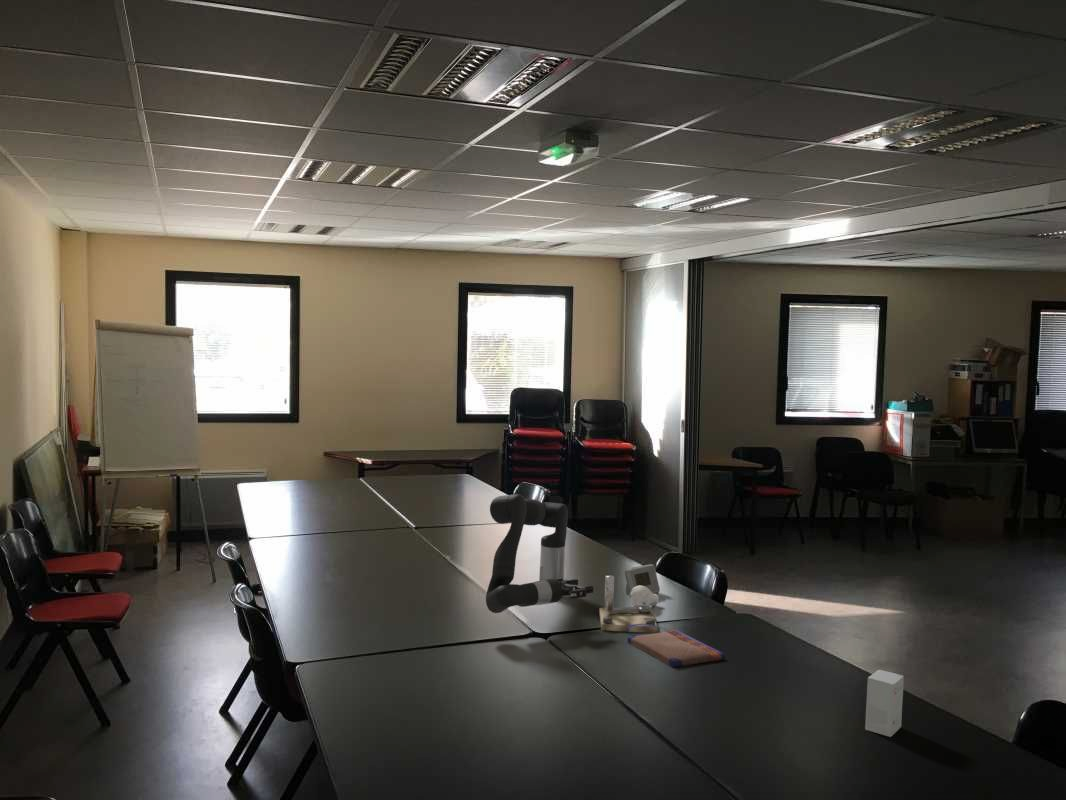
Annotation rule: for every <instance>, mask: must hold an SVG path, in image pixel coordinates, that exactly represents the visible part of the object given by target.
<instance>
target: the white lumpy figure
mask: <svg viewBox="0 0 1066 800" xmlns="http://www.w3.org/2000/svg"><path fill="white" fill-rule="evenodd" d="M630 595H631V598H630V600H631V604H632V607H637V606H639V605H643V604H645V606H650V605H651V606H650V607H656V606H657V605H658V603H659V601H660V598H659V596H658V595H657V593H656V594H653V593H652V592H651V591H650V590H649V589H648V588H647V587H645V586H642V585H638V586H636V587H634V588H633V589H632V592H631V593H630Z"/></svg>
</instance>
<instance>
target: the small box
mask: <svg viewBox="0 0 1066 800" xmlns="http://www.w3.org/2000/svg"><path fill="white" fill-rule="evenodd" d="M904 678H905V677H904V675H903V674H898V673H894V672H891V671H886V670H882V669H877V670H876V671H874V672H873V673H872V674H871V675H869V676H868V677H867V683H866V684H867V685H866V686H867V687H866V703H865V705H866V707H865V725H864V729H865V731H868V732H872V733H876V734H880V735H883V736H886V737H887V738H888V737H889V738H891V737H892V736H893V735H895V734H896V733H897V732H898V731H899V730H900V729H901V728H902V718H903V717H902V715H903V713H902V712H903V699H904V698H903V697H904V680H905V679H904Z"/></svg>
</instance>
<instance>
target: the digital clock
mask: <svg viewBox="0 0 1066 800" xmlns="http://www.w3.org/2000/svg"><path fill="white" fill-rule="evenodd" d="M624 577H625V580H626V586H625V595H626V594H627V595H626V596H629V595H630V593H631V592H632V589H633V588H634V587H636V586H638V585H642V586H645V587H647V588H648V589H649V590H650V591H651V592H652V593H653V594H656V595H657V594H659V593H660V591H661V589H660V585H659V580H658V576H657V571H656V567H655V565H654V564H651V563H650V564H645V565H640V566H639V565H638V566H634V567H631V568H627V569H626V570H624ZM629 598H630V599H631V595H630V596H629Z"/></svg>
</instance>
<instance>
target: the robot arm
mask: <svg viewBox="0 0 1066 800" xmlns="http://www.w3.org/2000/svg"><path fill="white" fill-rule="evenodd" d="M489 513H490V514H489V515H490V516H491V518H492V520H493V521H494V522H496V523H497V524H500V525H501V524H502V525H504V524H505V525H506V524H510V527H509V529H508V532H507V533H506V536H505V537H504V538H503V539H502V541H501V542H500V544H499V545H498V547H497V549H496V550H495V552H494V557H493V563H492V574H491V578H490V581H489V584H488V587H487V591H486V594H485V604H486V607H487V610H488V611H490V612H491V613H493V614H499V613H503V612H504V611H506V610H507V609H509V608H512V607H515V606H517V607H519V608H520V607H522V608H524V607H525V608H526V607H532V606H542V605H547V604H554V603H558V602H561V600H562V598H563V597H566V598H567V597H569V599H571V600H575V599H579V598H580V599H581V598H587V594H592V593H594V586H593V585H587V586H579V580H578V579H577V578H574V579H565V563H566V562H565V561H566V559H565V558H566V555H565V554H566V540H567V531H568V529H567V528H568V519H569V510H568V506H567V505H566V504H564V503H560V502H559V503H558V502H551V501H550V502H549V501H545V502H541V501H539V500H537V499H533V498H525V497H524V496H523V495H522V494H519V493H515V494H508V495H507V494H505V495H499V496H497V497H494V498H493V499H492V500H491V503H490V505H489ZM524 525H525V526H538V525H539V526H542V527H546V528H555V530H554V532H553V533H551V534H547V535H543V536H542V537H541V539H540V556H539V557H540V558H539V559H540V560H539V561H540V562H539V577H538V578H539V580H537V581H534V582H529V583H522V584H516V583H515V584H514V583H513V584H512V582H513V580H514V577H515V570H516V560H517V553H518V549H519V545H520V544H519V543H520V541H521V538H522V533H523V529H524Z"/></svg>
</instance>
